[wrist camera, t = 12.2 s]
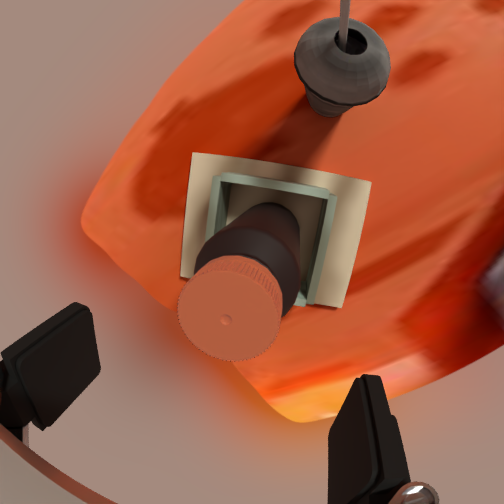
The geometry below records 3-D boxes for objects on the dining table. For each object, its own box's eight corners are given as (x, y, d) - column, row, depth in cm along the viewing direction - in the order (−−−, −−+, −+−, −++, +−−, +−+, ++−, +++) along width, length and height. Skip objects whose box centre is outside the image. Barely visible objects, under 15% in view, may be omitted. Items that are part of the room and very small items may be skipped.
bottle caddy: (369, 181, 30) (384, 184, 24) (340, 304, 34) (347, 328, 28) (195, 152, 32) (174, 149, 26) (183, 273, 36) (163, 291, 30)
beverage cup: (328, 142, 29) (374, 96, 10) (281, 96, 29) (256, 0, 10) (372, 103, 27) (456, 30, 8) (326, 58, 26) (351, -54, 7)
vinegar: (293, 196, 30) (286, 233, 11) (304, 256, 32) (310, 370, 13) (232, 208, 32) (140, 261, 13) (246, 266, 33) (183, 378, 14)
